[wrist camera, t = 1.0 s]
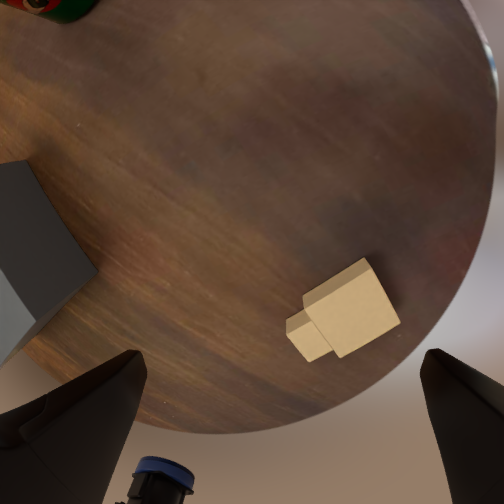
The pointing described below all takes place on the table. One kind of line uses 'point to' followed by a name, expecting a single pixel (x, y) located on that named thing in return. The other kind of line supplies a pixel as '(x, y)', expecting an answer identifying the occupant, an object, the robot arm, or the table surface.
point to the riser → (33, 259)
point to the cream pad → (342, 314)
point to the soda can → (52, 8)
